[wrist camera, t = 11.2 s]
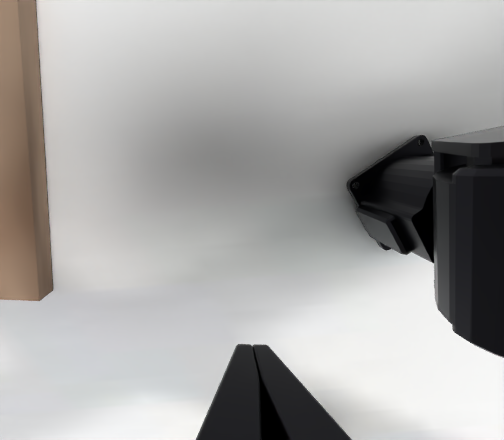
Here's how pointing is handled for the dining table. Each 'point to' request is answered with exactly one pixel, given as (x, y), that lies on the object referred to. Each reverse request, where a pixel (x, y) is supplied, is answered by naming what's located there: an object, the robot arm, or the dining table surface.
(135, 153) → the dining table surface
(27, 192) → the wooden block stand
